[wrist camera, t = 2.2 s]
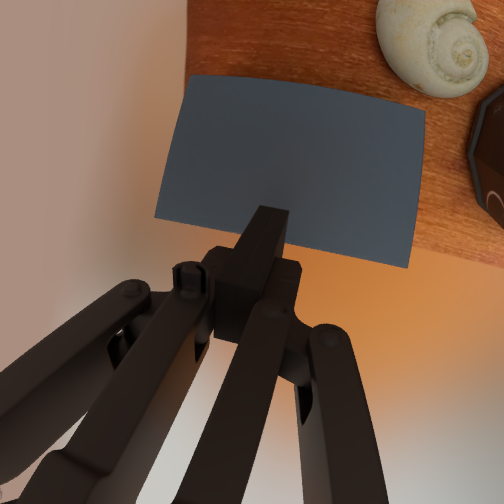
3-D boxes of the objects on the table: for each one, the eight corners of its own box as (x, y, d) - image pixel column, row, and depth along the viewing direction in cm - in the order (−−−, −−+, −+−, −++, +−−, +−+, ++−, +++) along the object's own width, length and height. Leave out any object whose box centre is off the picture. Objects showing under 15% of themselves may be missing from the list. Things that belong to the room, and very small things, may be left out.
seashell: (516, 87, 17) (424, 107, 20) (475, 91, 24) (396, 110, 27) (456, -45, 13) (356, -37, 16) (428, -16, 20) (346, -3, 23)
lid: (404, 267, 21) (407, 268, 20) (158, 218, 24) (153, 217, 23) (422, 114, 20) (425, 110, 19) (193, 78, 23) (190, 74, 22)
